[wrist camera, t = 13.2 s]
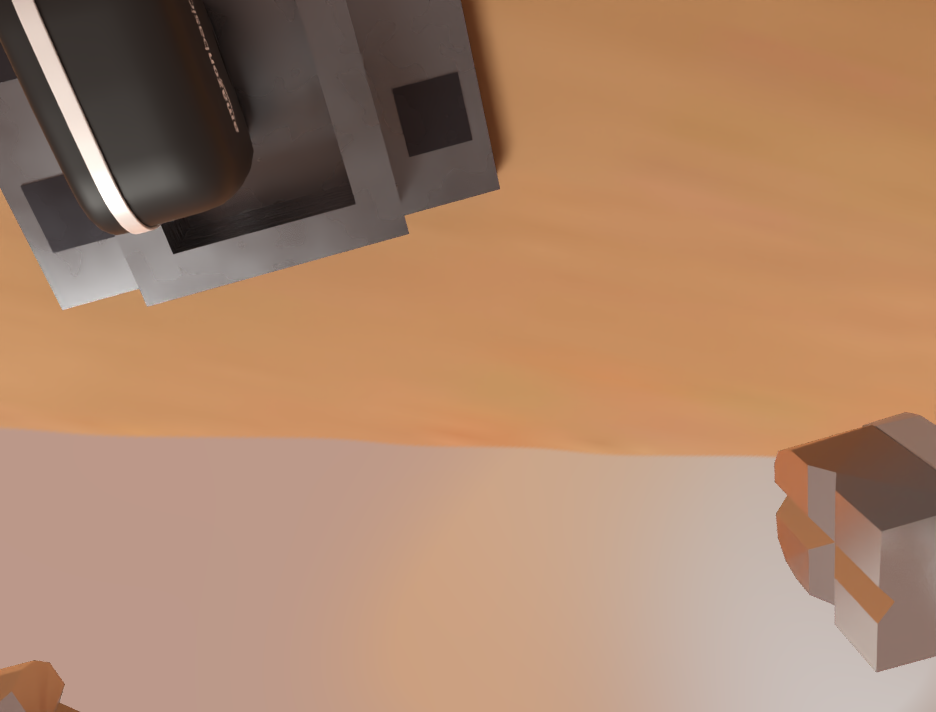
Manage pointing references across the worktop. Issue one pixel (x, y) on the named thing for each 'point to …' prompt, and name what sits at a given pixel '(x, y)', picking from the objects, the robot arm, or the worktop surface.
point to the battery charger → (131, 105)
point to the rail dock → (281, 150)
